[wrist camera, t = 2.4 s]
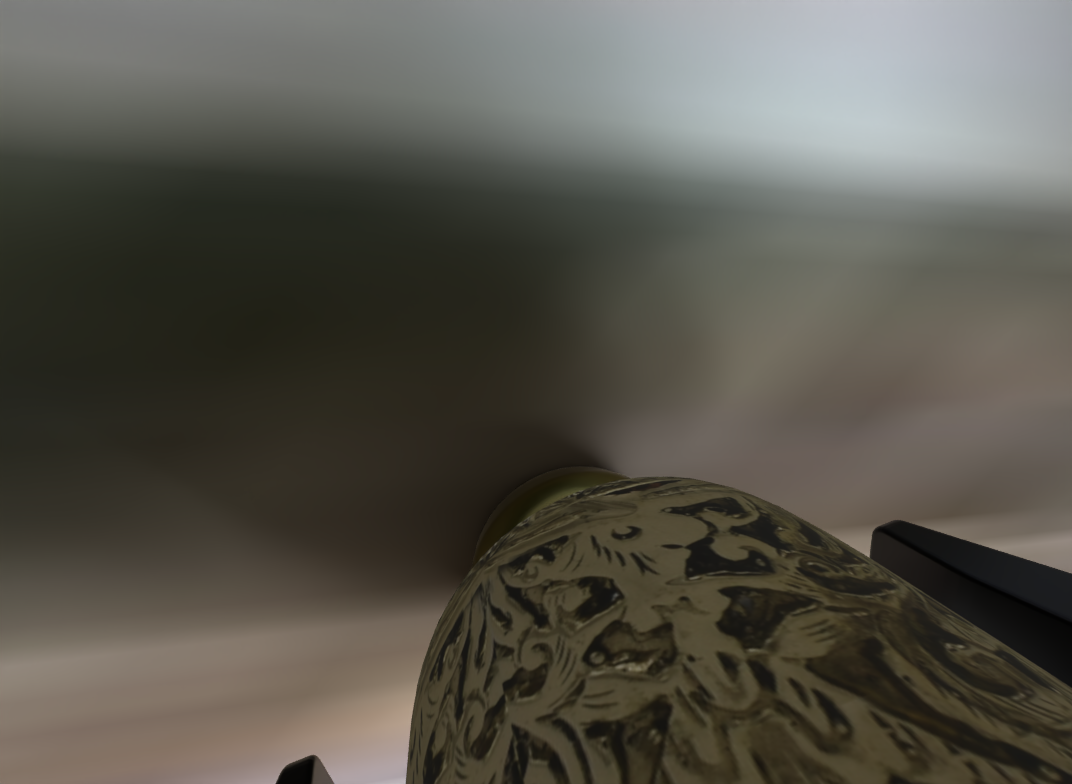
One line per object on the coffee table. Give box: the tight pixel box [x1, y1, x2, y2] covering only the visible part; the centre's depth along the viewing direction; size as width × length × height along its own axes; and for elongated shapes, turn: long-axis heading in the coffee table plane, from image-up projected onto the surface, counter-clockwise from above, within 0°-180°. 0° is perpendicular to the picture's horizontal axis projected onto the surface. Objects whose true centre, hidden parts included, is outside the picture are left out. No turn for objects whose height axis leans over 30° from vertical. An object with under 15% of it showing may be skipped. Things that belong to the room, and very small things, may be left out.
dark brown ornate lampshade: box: [406, 466, 1072, 784], centre depth 8 cm, size 8×7×8 cm
